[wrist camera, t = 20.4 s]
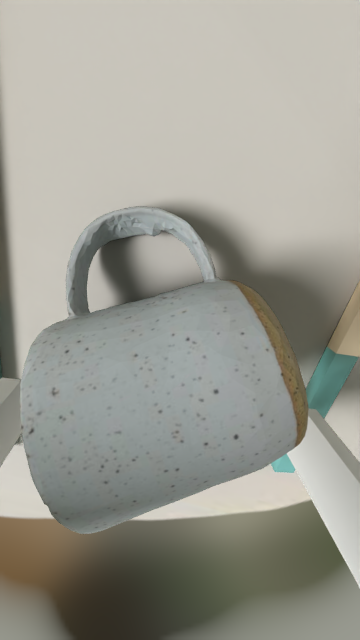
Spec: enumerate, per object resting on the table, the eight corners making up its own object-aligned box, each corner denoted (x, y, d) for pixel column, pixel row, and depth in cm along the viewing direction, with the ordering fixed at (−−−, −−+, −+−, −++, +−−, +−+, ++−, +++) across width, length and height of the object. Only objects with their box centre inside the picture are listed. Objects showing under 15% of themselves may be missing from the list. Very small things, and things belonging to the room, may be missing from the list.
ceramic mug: (253, 372, 15) (342, 515, 7) (127, 411, 15) (98, 584, 8) (208, 181, 10) (312, 100, 3) (35, 242, 11) (-198, 284, 4)
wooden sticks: (-239, -960, 4) (-339, -1254, 3) (669, -245, 7) (729, -299, 6) (-17, 443, 15) (-26, 455, 14) (288, 462, 18) (293, 472, 17)
